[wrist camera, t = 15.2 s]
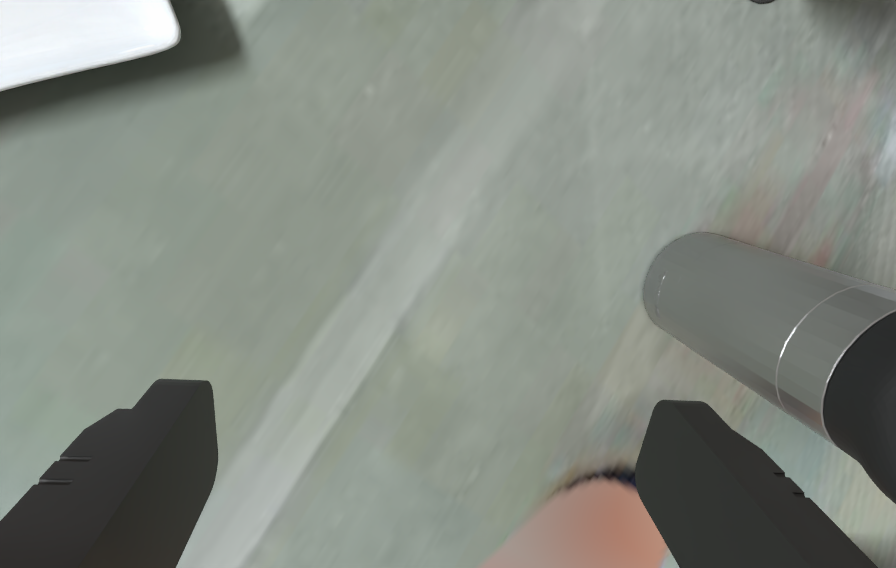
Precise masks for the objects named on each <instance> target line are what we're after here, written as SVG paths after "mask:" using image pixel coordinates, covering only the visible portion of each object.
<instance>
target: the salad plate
mask: <svg viewBox="0 0 896 568" xmlns="http://www.w3.org/2000/svg"><path fill="white" fill-rule="evenodd" d="M180 38H181V29H180V25H179V22H178V19H177V17H176V14H175V12H174V9H173V7H172V4H171V2H170V0H0V92H1V91H4V90H8V89H12V88H15V87H19V86H23V85H27V84H31V83H35V82H39V81H43V80H47V79H52V78H56V77H60V76H64V75H68V74H72V73H77V72H81V71H85V70H89V69H94V68H98V67H103V66H107V65H112V64H116V63H120V62H124V61H129V60H133V59H137V58H141V57H145V56H149V55H152V54H156V53H159V52H162V51H165V50H168V49H170V48H172V47H174V46H175V45H177V44H178V43H179V41H180Z"/></svg>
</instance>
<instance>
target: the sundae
mask: <svg viewBox="0 0 896 568" xmlns="http://www.w3.org/2000/svg"><path fill="white" fill-rule="evenodd" d="M752 1H754V2H757V3H768V2H772V1H774V0H752Z"/></svg>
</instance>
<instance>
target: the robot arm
mask: <svg viewBox="0 0 896 568" xmlns="http://www.w3.org/2000/svg"><path fill="white" fill-rule="evenodd" d="M643 299H644V304H645V309H646V311H647V313H648V315H649V317H650V318H651V320H652V321H653V322H654V323H655V324H656V325H657V326H659V327H660V328H661V329H663V330H664V331H666V332H667V333H669V334H670V335H672V336H673V337H675V338H676V339H678V340H679V341H680V342H682V343H683V344H685V345H686V346H687V347H689V348H690V349H692V350H693V351H695V352H696V353H698V354H699V355H701V356H702V357H704V358H705V359H707V360H708V361H710V362H711V363H713V364H714V365H716V366H717V367H719V368H720V369H722V370H723V371H725V372H726V373H728V374H729V375H731V376H732V377H734V378H735V379H737V380H738V381H739V382H741V383H742V384H744V385H745V386H747V387H748V388H750V389H751V390H753V391H754V392H756V393H757V394H759V395H760V396H762V397H763V398H765V399H766V400H768V401H769V402H771V403H772V404H774V405H775V406H777V407H778V408H780V409H781V410H783V411H784V412H786V413H787V414H789V415H790V416H791V417H793V418H795V419H796V420H798V421H799V422H801V423H802V424H804V425H805V426H807V427H808V428H810V429H811V430H813V431H814V432H816V433H817V434H819V435H820V436H822V437H823V438H825V439H826V440H828V441H829V442H831V443H832V444H834V445H835V446H836V447H838V448H840V449H841V450H843V451H844V452H845V453H847V454H848V455H850V456H851V457H853V458H854V459H855V460H857V461H858V462H859V463H860V464H861V465H862V467H863V468H864V470H865V471H866V472H867V474H868V475H869V477H870V478H871V479H872V481H873V482H874V483H875V484H876V486H877V487H878V488H879V489H880V490H881V491H882V492H883V493H884V494H885V495H886V496H887V497H888V498H889V499H891V500H892V501H893V502H894V503H895V504H896V290H894V289H891V288H888V287H885V286H882V285H877V284H874V283H871V282H868V281H864V280H861V279H858V278H855V277H852V276H848V275H845V274H842V273H839V272H836V271H832V270H829V269H826V268H823V267H819V266H816V265H813V264H810V263H807V262H803V261H800V260H797V259H794V258H791V257H787V256H784V255H781V254H778V253H774V252H771V251H768V250H765V249H762V248H758V247H755V246H752V245H749V244H746V243H743V242H740V241H736V240H733V239H730V238H727V237H723V236H720V235H717V234H712V233H708V232H702V233H693V234H689V235H686V236H683V237H681V238H679V239H677V240H675V241H674V242H673V243H671V244H670V245H668V246H667V247H666V248H665V249H664V250H663V251H662V252H661V253H660V254H659V255H658V256H657V258H656V259H655V261H654V262H653V264H652V265H651V267H650V269H649V272H648V274H647V276H646V280H645V284H644V295H643ZM217 465H218V446H217V434H216V423H215V411H214V399H213V390H212V386H211V384H210V382H209V381H203V380H177V379H158V380H157V381H155V382H154V383H153V384H152V385H151V387H150V388H149V389H148V390H147V392H146V393H145V394H144V395H143V396H142V398H141V399H140V400H139V401H138V402H137V404H136V405H135V406H134V407H133V408H132V409H117V410H115V411H113V412H112V413H110V414H109V415H107V416H105V417H104V418H102V419H101V420H99V421H97V422H96V423H94V424H93V425H91V426H89V427H88V428H86V429H84V430H83V432H82V433H81V434H80V435H79V436H78V437H77V438H76V439H75V440H74V441H73V442H72V444H71V445H70V446H69V447H68V448H67V449H66V450H65V451H64V452H63V453H62V454H61V456H60V460H59V461H55V462H54V463H53V464H52V465H51V466H50V468H49V469H48V470H47V471H46V472H45V473H44V474H43V475H42V476H41V477H40V480H39V483H38V485H33V486H32V487H31V488H30V489H29V491H28V492H27V493H26V494H25V495H24V496H23V497H22V498H21V499H20V500H19V501H18V503H17V504H16V505H15V506H14V507H13V508H12V509H11V510H10V511H9V512H8V513H7V515H6V516H5V517H4V518H3V519H2V520H1V521H0V568H176V566H177V564H178V562H179V559H180V557H181V555H182V553H183V551H184V549H185V547H186V544H187V542H188V540H189V538H190V536H191V534H192V532H193V529H194V527H195V525H196V523H197V521H198V519H199V517H200V514H201V512H202V510H203V508H204V506H205V504H206V502H207V499H208V497H209V495H210V493H211V490H212V488H213V485H214V481H215V477H216V472H217ZM635 480H636V486H637V490H638V494H639V496H640V499H641V500H642V502H643V504H644V506H645V508H646V509H647V511H648V513H649V515H650V516H651V518H652V520H653V522H654V523H655V525H656V526H657V529H658V530H659V532H660V534H661V535H662V537H663V539H664V541H665V543H666V544H667V546H668V548H669V550H670V551H671V553H672V555H673V556H674V558H675V560H676V562H677V563H678V565H679V567H680V568H878V567H877V566H876V565H875V564H874V563H873V562H872V561H871V560H870V559H869V558H868V557H867V556H866V555H865V554H864V553H863V552H862V551H861V550H860V549H859V548H858V547H857V546H856V545H855V544H854V543H853V542H852V541H851V540H850V539H849V538H848V537H847V536H846V535H845V534H844V533H843V532H842V530H841V529H840V528H839V527H838V526H837V525H836V524H835V523H834V522H833V521H832V520H831V519H830V518H829V517H828V516H827V515H826V514H825V513H824V512H823V511H822V510H821V509H820V508H819V507H818V506H817V505H816V504H815V503H814V502H813V501H812V500H811V499H810V498H805V496H804V492H803V491H802V490H801V489H800V488H799V487H798V486H797V485H796V484H795V483H794V482H793V481H792V480H791V479H790V478H788V477H785V472H784V471H783V470H782V469H781V468H780V467H779V466H778V465H777V464H776V463H775V462H774V461H773V460H772V459H771V458H770V457H769V456H768V455H767V454H766V453H765V452H764V451H763V450H762V449H760V448H759V447H757V446H756V445H754V444H753V443H751V442H750V441H749V440H747V439H746V438H744V437H743V436H741V435H740V434H738V433H737V432H735V431H734V430H732V429H731V428H730V427H729V426H728V425H727V424H726V423H725V422H724V421H723V420H722V419H721V418H720V416H719V415H718V414H717V413H716V412H715V411H714V410H713V409H712V408H711V407H710V406H709V405H708V404H706V403H704V402H701V401H678V400H661V401H659V402H658V403H657V404H656V406H655V407H654V410H653V412H652V416H651V419H650V422H649V425H648V428H647V431H646V435H645V438H644V441H643V444H642V447H641V450H640V454H639V457H638V460H637V463H636V469H635Z"/></svg>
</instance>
